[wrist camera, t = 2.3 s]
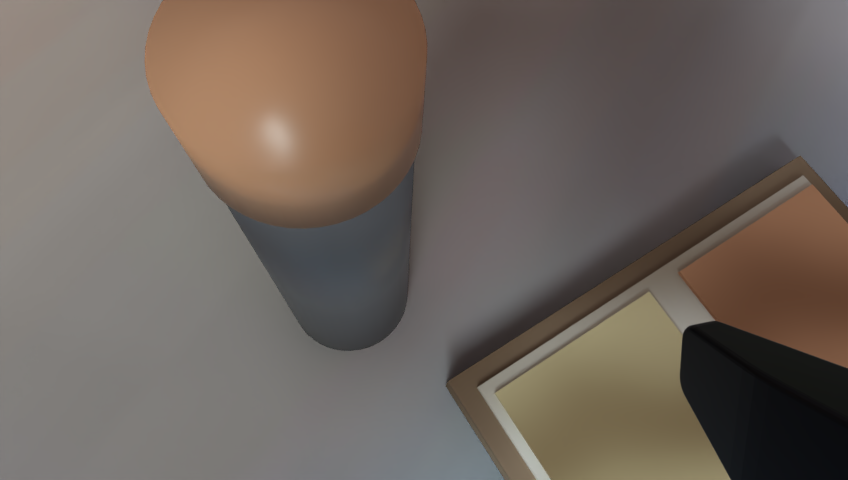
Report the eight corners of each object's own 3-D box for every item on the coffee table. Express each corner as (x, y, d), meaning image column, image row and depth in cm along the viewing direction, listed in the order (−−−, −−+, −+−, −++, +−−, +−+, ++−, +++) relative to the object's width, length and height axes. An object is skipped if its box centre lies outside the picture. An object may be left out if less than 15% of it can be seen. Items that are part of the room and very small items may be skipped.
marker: (433, 312, 21) (481, 86, 9) (326, 377, 20) (223, 223, 8) (371, 217, 22) (340, -100, 10) (267, 274, 21) (99, 4, 9)
